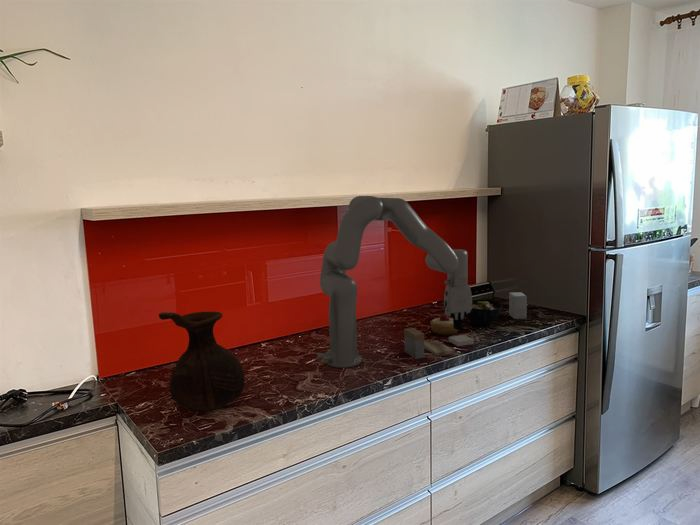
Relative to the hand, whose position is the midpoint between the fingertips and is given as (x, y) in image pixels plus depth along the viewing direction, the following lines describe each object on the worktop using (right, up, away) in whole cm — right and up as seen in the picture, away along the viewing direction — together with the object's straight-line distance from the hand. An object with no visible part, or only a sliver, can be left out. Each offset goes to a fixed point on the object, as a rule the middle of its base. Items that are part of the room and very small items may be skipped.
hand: (457, 328), depth 203 cm
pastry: (-2, -4, +16) cm, 16 cm away
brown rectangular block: (-18, -8, -11) cm, 22 cm away
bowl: (+16, -1, +26) cm, 30 cm away
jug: (-83, -16, -48) cm, 97 cm away
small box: (+34, +1, +36) cm, 50 cm away
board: (-9, -7, -6) cm, 13 cm away
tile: (-2, -5, 0) cm, 5 cm away
